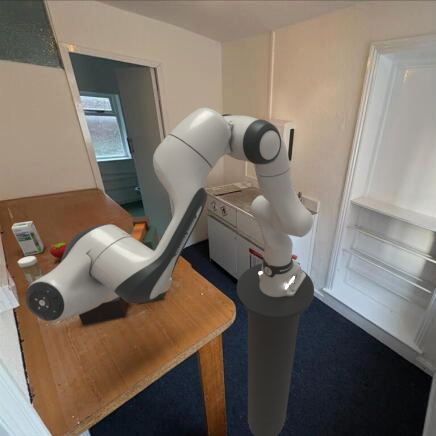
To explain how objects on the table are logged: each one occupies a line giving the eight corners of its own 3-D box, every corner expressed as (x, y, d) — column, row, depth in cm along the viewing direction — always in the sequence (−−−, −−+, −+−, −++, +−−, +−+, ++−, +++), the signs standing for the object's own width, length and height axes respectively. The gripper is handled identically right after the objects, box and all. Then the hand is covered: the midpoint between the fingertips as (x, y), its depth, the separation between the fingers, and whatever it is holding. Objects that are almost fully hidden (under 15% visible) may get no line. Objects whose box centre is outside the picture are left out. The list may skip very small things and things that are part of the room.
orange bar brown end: (140, 255, 71) (138, 244, 69) (123, 257, 69) (120, 245, 67) (150, 225, 87) (148, 215, 86) (136, 226, 86) (134, 216, 84)
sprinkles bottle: (49, 288, 89) (36, 259, 84) (32, 293, 86) (17, 264, 80) (48, 282, 92) (35, 254, 86) (31, 287, 89) (16, 258, 83)
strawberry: (78, 259, 106) (71, 240, 101) (55, 266, 101) (46, 246, 96) (75, 253, 109) (68, 235, 105) (53, 259, 104) (45, 240, 100)
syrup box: (24, 256, 104) (10, 228, 98) (27, 250, 109) (14, 222, 102) (42, 253, 108) (29, 225, 101) (44, 246, 112) (32, 220, 106)
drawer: (124, 316, 81) (119, 300, 77) (82, 325, 76) (75, 307, 73) (140, 265, 105) (136, 251, 102) (109, 270, 101) (104, 255, 98)
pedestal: (163, 299, 89) (151, 241, 78) (139, 303, 86) (123, 244, 75) (166, 279, 99) (155, 225, 88) (144, 282, 96) (131, 227, 85)
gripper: (160, 282, 54) (185, 269, 68) (76, 250, 54) (119, 244, 67) (149, 307, 54) (177, 290, 68) (66, 276, 53) (110, 265, 67)
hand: (147, 267), depth 68 cm, fingers open, 8 cm apart
